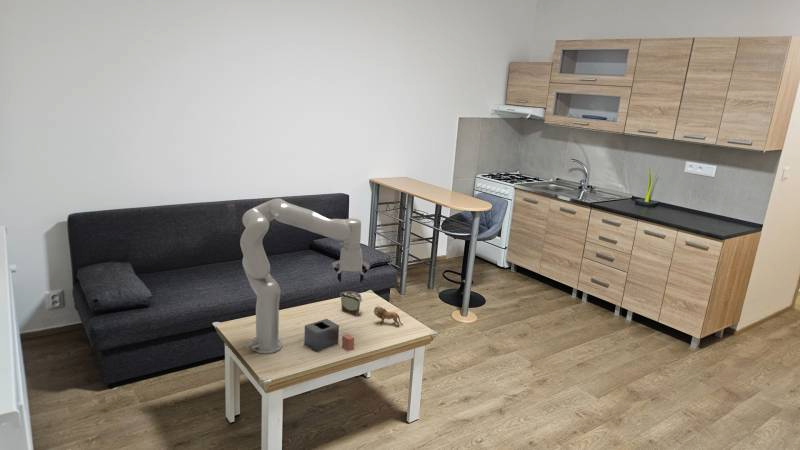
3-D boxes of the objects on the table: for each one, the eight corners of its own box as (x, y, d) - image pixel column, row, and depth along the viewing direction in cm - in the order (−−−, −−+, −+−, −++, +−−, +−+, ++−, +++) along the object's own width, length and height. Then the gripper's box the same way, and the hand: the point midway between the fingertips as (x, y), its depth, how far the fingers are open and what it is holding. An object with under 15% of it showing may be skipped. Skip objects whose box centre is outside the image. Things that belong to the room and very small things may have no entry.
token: (348, 351, 230) (348, 339, 228) (342, 347, 233) (342, 335, 231) (353, 349, 232) (354, 337, 230) (347, 345, 235) (347, 333, 233)
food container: (366, 313, 269) (366, 295, 266) (358, 317, 263) (359, 298, 261) (346, 307, 275) (347, 289, 272) (339, 310, 270) (340, 292, 267)
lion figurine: (372, 325, 256) (373, 308, 253) (373, 320, 261) (374, 304, 259) (402, 328, 255) (403, 310, 253) (403, 323, 260) (404, 306, 258)
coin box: (316, 352, 227) (316, 332, 225) (304, 344, 233) (304, 325, 231) (338, 343, 235) (339, 325, 233) (326, 336, 241) (326, 318, 239)
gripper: (331, 247, 233) (330, 283, 237) (370, 249, 234) (368, 285, 238) (333, 242, 240) (332, 277, 245) (371, 244, 241) (369, 279, 245)
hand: (350, 281), depth 241 cm, fingers open, 9 cm apart
